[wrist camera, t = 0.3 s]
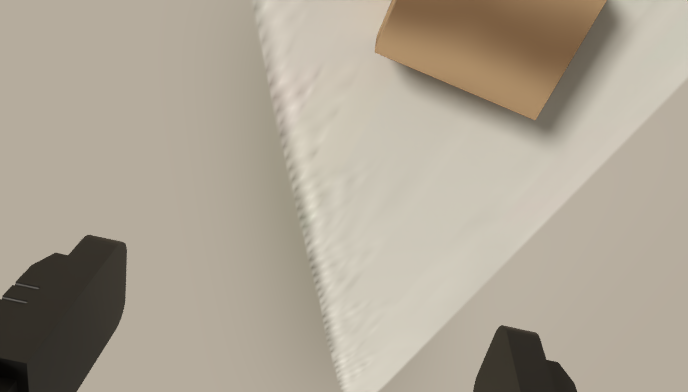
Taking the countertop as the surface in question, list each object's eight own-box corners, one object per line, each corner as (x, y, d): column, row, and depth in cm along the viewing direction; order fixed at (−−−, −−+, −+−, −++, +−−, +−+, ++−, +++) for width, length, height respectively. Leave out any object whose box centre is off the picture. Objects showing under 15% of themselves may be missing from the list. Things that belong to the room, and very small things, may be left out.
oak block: (434, -99, 33) (438, -97, 30) (593, -26, 34) (615, -16, 31) (376, 36, 37) (374, 52, 33) (522, 98, 38) (535, 120, 34)
